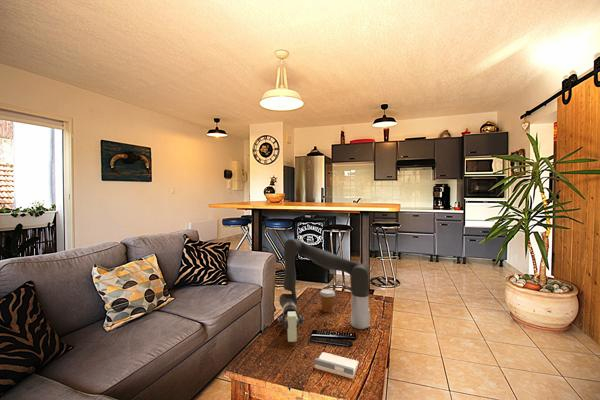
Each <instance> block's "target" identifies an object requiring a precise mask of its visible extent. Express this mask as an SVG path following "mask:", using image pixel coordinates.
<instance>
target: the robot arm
mask: <svg viewBox="0 0 600 400" xmlns="http://www.w3.org/2000/svg"><path fill="white" fill-rule="evenodd" d="M283 252H284V253H283V254H284V278H283V289H284V290H285V291H289V292H291V293H282V294H281V295H280V296H279V299H278V302H279V305H280V306H281V307H282V315H277V322H278V323H279V324H280V325H281V326H284V328H285V329H286V330H287V329H288V320H287V317H288V312H292V311H296V316H297V325H296V328H297V329H299V328H300V325H303V323H304V321H305V314H301V315H300V314H299V313H298V308H297V304H298V297H297V291H296V283H297V272H296V271H297V270H296V256H297V255H299V256H301V257H304V258H307V259H309V260H310V261H311V262H313V263H314V264H316V265H318V266H320V267H322V268H324V269H326V270H327V269H328V270H332V271H338V272H339V271H340V272H344V273H346V274H349V275H350V290H351V291H350V292H351V297H350V298H351V302H350V303H351V305H350V307H351V308H350V315H351V316H350V325H351V327H353V328H354V329H358V330H365V329H367V328H369V327H370V324H371V323H370V321H371V319H370V317H371V315H370V314H371V310H370V308H369V296H370V294H369V277H370V274H371V271H370V268H369V267H368V266H367V265H365V263H364V264H363V263H360V262H357V261H353V260H350V259H346V258H344V257H342V256H340V255H337V254H335V253H332V252H330V251H328V250H325V249H322V248H318V247H315V246H311V245H309V244H307V243H305V242H303V241H302V240H299V239H297V238H290V239H287V240H286V241H285V243H284V245H283Z"/></svg>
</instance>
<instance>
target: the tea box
mask: <svg viewBox="0 0 600 400" xmlns="http://www.w3.org/2000/svg"><path fill="white" fill-rule="evenodd" d="M287 320H288V329H287V328H286V330H287V342H288V343H290V342H291V343H292V342H293V343H294V342H297V338H298V337H297V333H298V332H297V328H296V325H297V316H296V311H292V312H288V317H287Z"/></svg>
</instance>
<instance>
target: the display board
mask: <svg viewBox="0 0 600 400" xmlns="http://www.w3.org/2000/svg"><path fill="white" fill-rule="evenodd" d="M358 367H359V360H357V359H352V358H347V357H343V356H340V355H336V354H332V353H327V352H324V351H322V352H321V354H320V355H319V356H318V357H315V359H314V369H317V370H320V371H325V372H326V373H327V372H328V373H331V374H334V375H339V376H342V377H346V378H349V379H352V380H353V379H354V377H355V374H356V372H357V370H358Z"/></svg>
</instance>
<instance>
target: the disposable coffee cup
mask: <svg viewBox="0 0 600 400" xmlns="http://www.w3.org/2000/svg"><path fill="white" fill-rule="evenodd" d="M319 295H320V303H321V310H322V312H324V313H332V312H333V308H334V302H335V301H334V300H335V296H336V292H335V290H333V289H331V288H323V289H321V290H320V291H319Z"/></svg>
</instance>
